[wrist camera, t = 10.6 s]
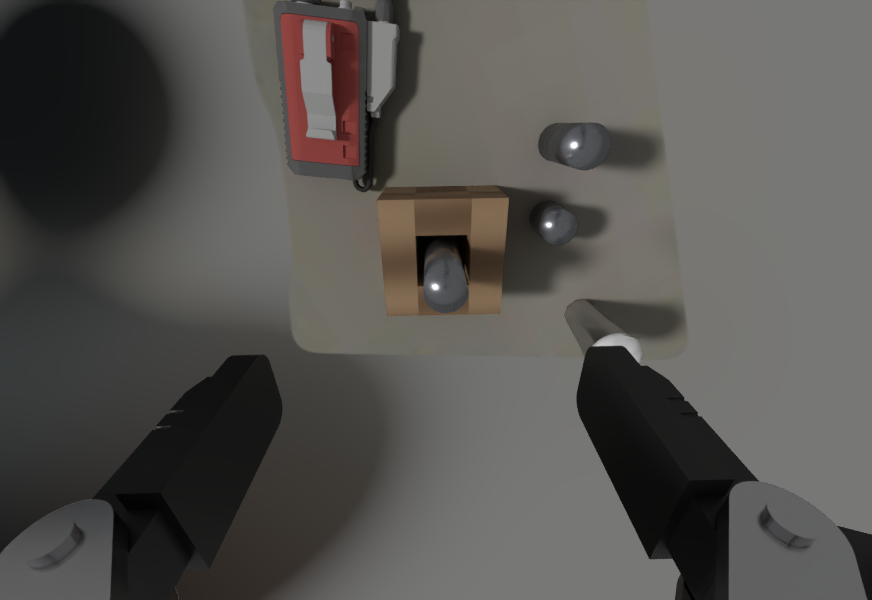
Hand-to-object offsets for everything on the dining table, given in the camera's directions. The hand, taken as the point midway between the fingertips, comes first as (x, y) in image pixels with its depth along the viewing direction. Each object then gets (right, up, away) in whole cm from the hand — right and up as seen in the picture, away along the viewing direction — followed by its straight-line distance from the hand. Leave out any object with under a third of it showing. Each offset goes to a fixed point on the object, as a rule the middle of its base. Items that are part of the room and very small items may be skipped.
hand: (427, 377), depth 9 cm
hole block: (+1, +8, +25) cm, 26 cm away
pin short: (+11, +10, +24) cm, 28 cm away
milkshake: (+16, +1, +29) cm, 33 cm away
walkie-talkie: (-7, +21, +19) cm, 29 cm away
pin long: (+1, +8, +25) cm, 26 cm away
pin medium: (+11, +16, +21) cm, 28 cm away
